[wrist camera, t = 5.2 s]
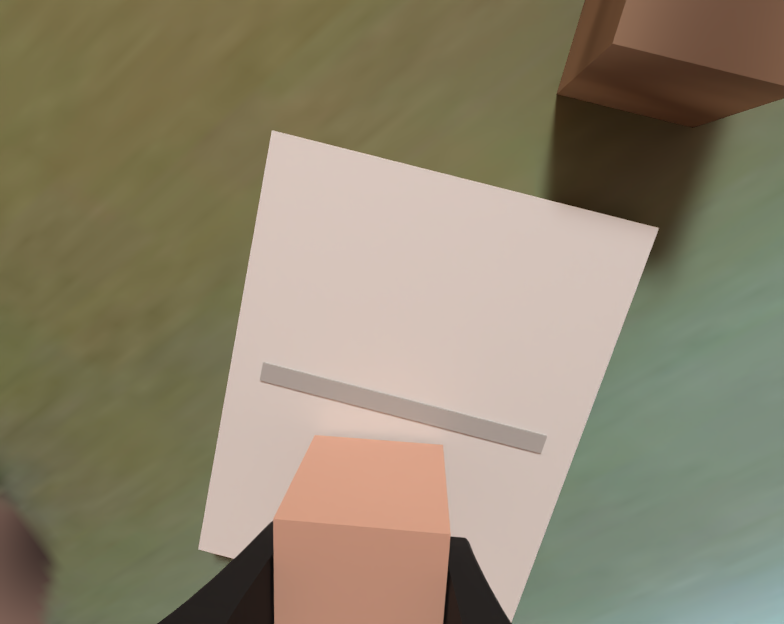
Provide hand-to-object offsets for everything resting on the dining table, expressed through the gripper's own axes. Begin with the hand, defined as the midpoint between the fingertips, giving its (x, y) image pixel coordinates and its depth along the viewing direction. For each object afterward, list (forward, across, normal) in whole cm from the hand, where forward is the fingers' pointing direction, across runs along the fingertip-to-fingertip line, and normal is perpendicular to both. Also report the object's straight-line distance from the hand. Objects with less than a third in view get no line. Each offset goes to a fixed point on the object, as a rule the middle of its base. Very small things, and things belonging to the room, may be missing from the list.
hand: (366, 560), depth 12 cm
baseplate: (+4, -1, -3) cm, 5 cm away
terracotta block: (+2, 0, 0) cm, 2 cm away
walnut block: (+4, -7, -14) cm, 16 cm away
